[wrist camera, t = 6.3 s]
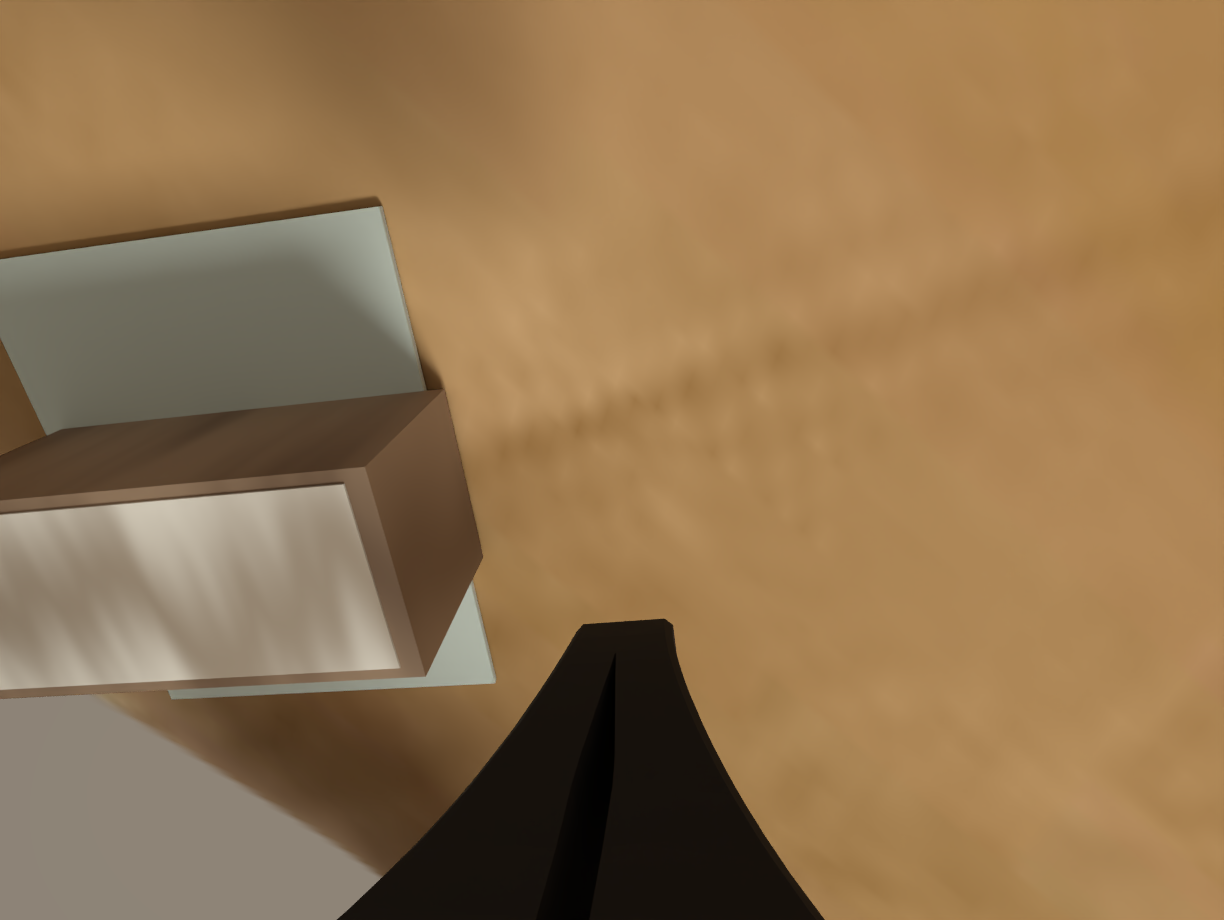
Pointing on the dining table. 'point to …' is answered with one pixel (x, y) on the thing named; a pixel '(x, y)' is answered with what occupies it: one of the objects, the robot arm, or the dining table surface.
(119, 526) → the walnut block
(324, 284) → the pad
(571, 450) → the dining table surface
